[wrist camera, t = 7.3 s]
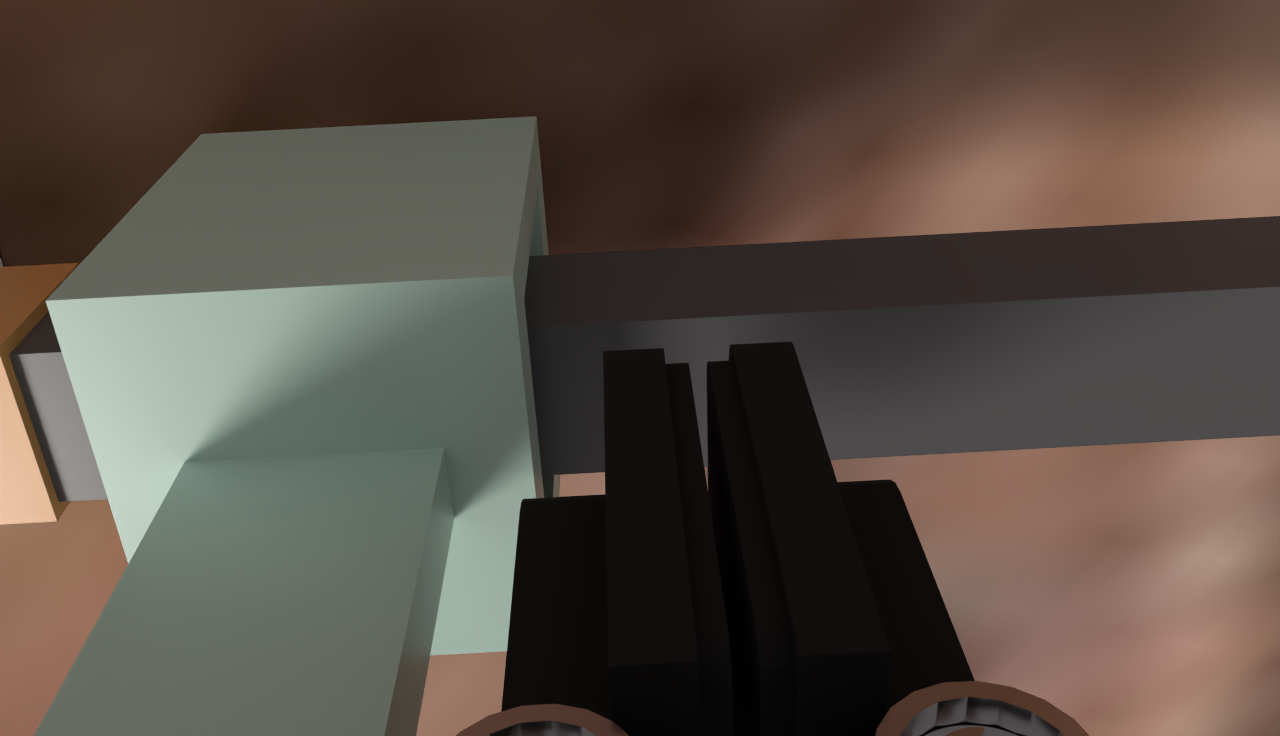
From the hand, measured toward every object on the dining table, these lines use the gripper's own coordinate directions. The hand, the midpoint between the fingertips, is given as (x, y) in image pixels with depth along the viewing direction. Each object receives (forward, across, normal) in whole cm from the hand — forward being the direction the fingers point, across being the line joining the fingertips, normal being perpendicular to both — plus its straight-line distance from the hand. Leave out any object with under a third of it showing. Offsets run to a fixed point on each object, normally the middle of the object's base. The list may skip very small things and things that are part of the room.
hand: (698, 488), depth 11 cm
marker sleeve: (+5, +3, 0) cm, 6 cm away
